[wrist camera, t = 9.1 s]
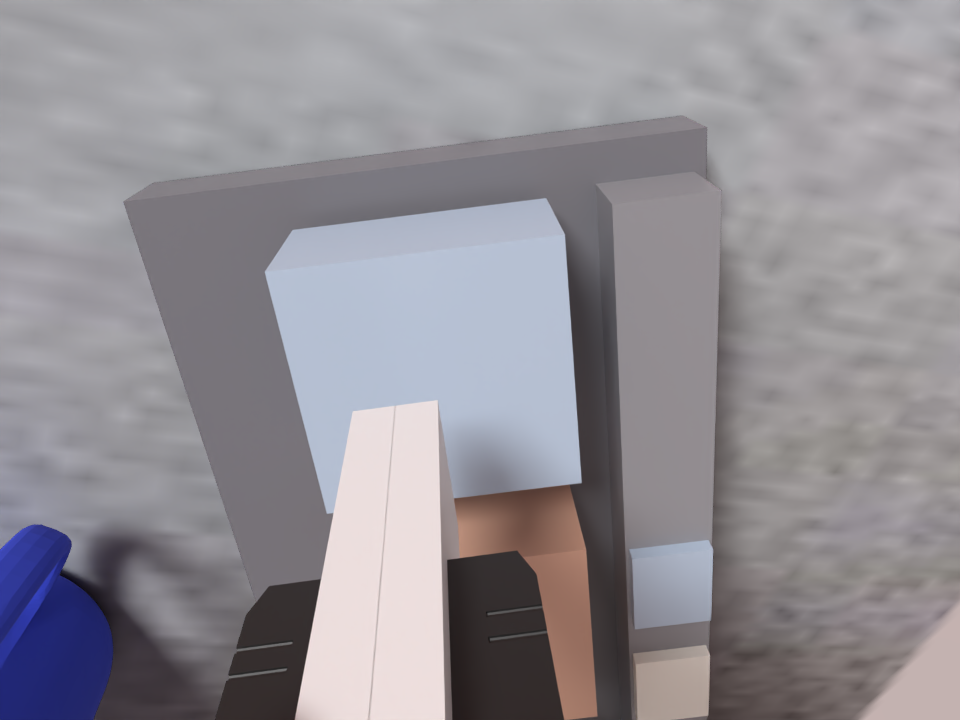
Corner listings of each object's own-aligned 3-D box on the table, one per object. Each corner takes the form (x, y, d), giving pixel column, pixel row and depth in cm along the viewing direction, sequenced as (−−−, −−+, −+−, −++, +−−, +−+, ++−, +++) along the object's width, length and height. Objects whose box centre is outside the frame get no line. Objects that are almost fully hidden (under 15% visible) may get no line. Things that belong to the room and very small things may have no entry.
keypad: (371, 887, 34) (361, 1006, 30) (153, 183, 20) (78, 229, 16) (679, 852, 33) (711, 967, 29) (682, 115, 19) (743, 145, 15)
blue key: (342, 444, 20) (327, 513, 17) (292, 229, 17) (264, 271, 15) (563, 417, 20) (581, 483, 17) (546, 197, 17) (564, 234, 15)
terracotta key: (392, 656, 24) (385, 741, 21) (356, 504, 21) (343, 578, 18) (580, 633, 23) (597, 716, 21) (568, 478, 21) (586, 549, 18)
